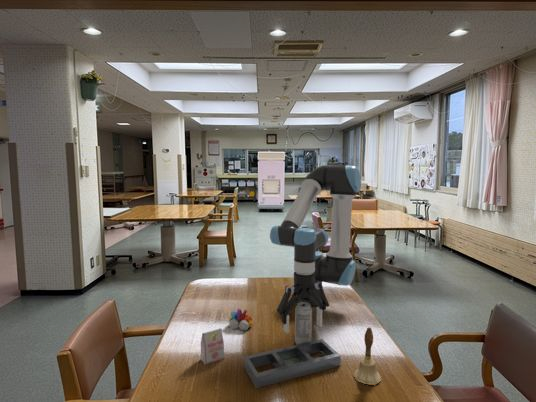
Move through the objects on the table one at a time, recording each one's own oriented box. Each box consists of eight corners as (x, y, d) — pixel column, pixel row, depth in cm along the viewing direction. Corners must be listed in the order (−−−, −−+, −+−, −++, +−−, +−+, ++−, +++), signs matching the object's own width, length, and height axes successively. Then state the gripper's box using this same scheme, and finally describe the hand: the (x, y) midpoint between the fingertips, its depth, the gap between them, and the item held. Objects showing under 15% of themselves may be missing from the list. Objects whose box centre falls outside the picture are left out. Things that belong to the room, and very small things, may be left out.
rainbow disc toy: (249, 332, 134) (249, 315, 133) (226, 330, 136) (225, 312, 135) (255, 322, 142) (255, 306, 141) (232, 320, 144) (232, 304, 143)
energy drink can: (312, 341, 128) (313, 302, 126) (309, 349, 122) (310, 309, 120) (297, 338, 130) (297, 300, 128) (292, 346, 124) (293, 306, 122)
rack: (321, 348, 123) (321, 338, 123) (340, 365, 112) (340, 355, 112) (243, 366, 112) (243, 356, 111) (256, 388, 101) (256, 377, 101)
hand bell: (349, 370, 110) (351, 322, 108) (375, 368, 111) (377, 321, 109) (358, 386, 102) (360, 336, 100) (385, 385, 103) (388, 334, 101)
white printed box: (201, 359, 116) (200, 331, 115) (219, 353, 119) (219, 326, 118) (204, 364, 113) (204, 336, 112) (223, 358, 116) (223, 330, 115)
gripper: (328, 265, 131) (326, 318, 133) (268, 272, 121) (267, 329, 124) (339, 271, 124) (337, 327, 127) (276, 279, 115) (275, 339, 117)
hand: (303, 328), depth 125 cm, fingers open, 13 cm apart
